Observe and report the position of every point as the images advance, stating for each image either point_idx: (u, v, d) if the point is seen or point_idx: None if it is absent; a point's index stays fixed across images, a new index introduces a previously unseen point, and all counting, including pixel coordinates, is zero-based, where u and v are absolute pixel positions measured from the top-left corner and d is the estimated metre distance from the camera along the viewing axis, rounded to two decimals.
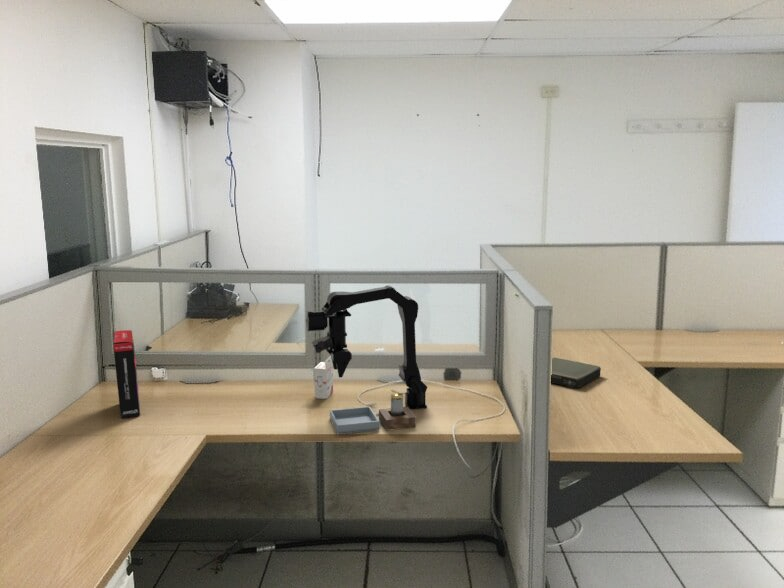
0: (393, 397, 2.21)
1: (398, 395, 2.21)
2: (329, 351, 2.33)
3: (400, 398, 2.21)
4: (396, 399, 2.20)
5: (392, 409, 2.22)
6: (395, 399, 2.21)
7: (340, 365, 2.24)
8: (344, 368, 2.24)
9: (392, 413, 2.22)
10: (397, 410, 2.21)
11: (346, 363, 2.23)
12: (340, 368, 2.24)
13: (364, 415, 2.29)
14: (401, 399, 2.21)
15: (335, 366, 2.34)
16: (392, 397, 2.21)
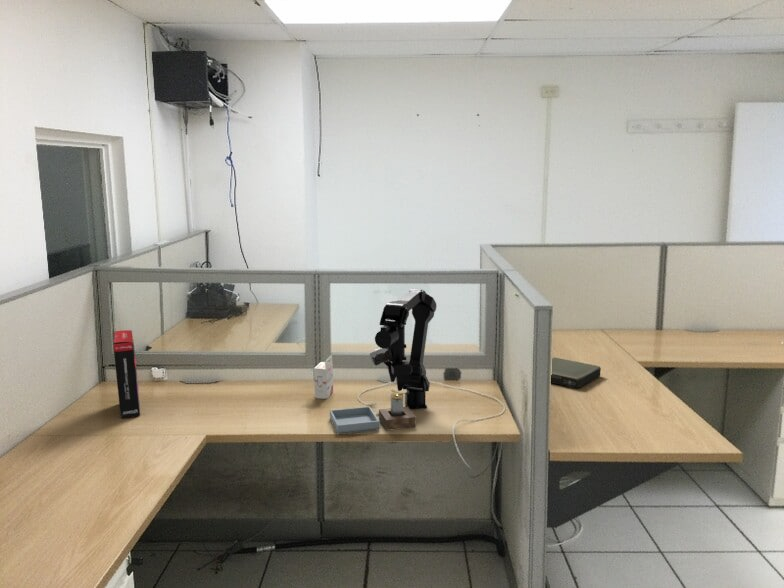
0: (393, 397, 2.21)
1: (398, 395, 2.21)
2: (386, 363, 2.25)
3: (400, 398, 2.21)
4: (396, 399, 2.20)
5: (392, 409, 2.22)
6: (395, 399, 2.21)
7: (400, 378, 2.15)
8: (404, 381, 2.16)
9: (392, 413, 2.22)
10: (397, 410, 2.21)
11: (406, 376, 2.15)
12: (400, 381, 2.16)
13: (364, 415, 2.29)
14: (401, 399, 2.21)
15: (392, 378, 2.26)
16: (392, 397, 2.21)
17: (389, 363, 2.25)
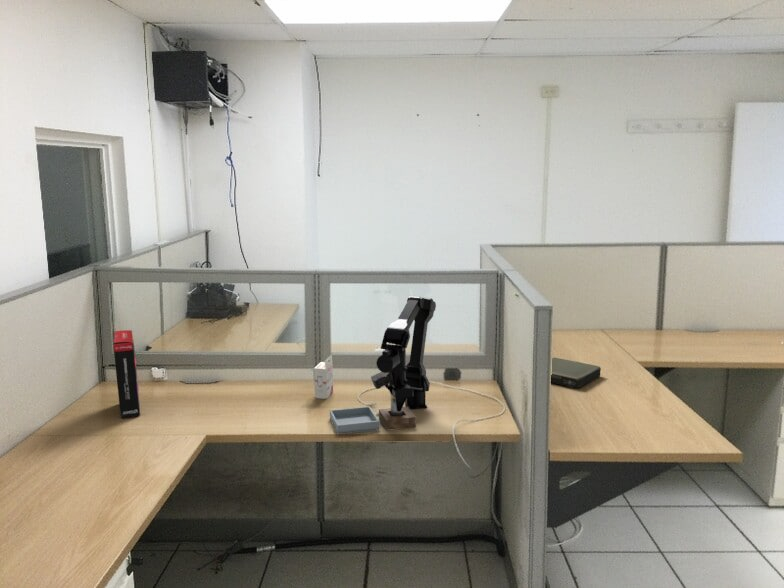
0: (393, 397, 2.21)
1: None
2: (389, 388, 2.24)
3: None
4: None
5: (392, 409, 2.22)
6: None
7: (399, 399, 2.19)
8: (403, 402, 2.20)
9: (392, 413, 2.22)
10: None
11: (405, 397, 2.19)
12: (399, 402, 2.19)
13: (364, 415, 2.29)
14: None
15: None
16: (392, 397, 2.21)
17: (392, 388, 2.24)
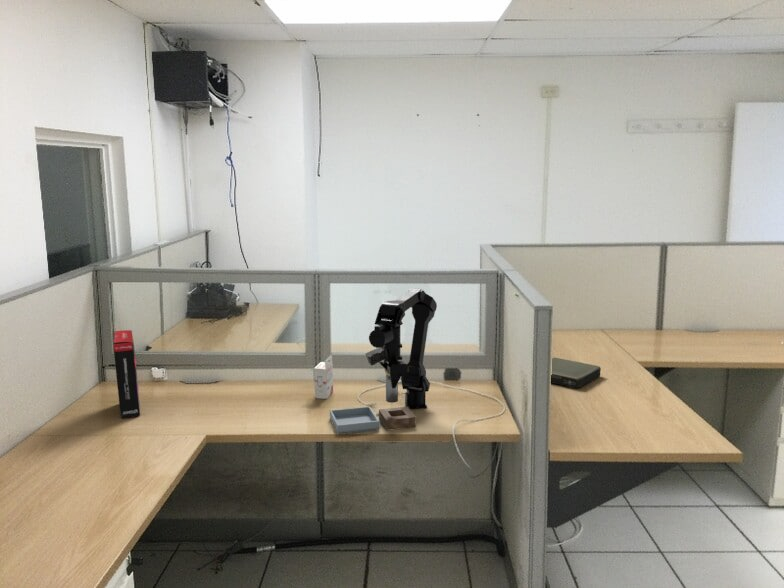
0: (388, 374, 2.19)
1: None
2: (383, 365, 2.22)
3: None
4: None
5: (387, 386, 2.20)
6: None
7: (394, 376, 2.17)
8: (398, 379, 2.18)
9: (387, 390, 2.20)
10: None
11: (400, 373, 2.17)
12: (394, 379, 2.18)
13: (364, 415, 2.29)
14: None
15: None
16: (386, 374, 2.19)
17: (386, 365, 2.22)
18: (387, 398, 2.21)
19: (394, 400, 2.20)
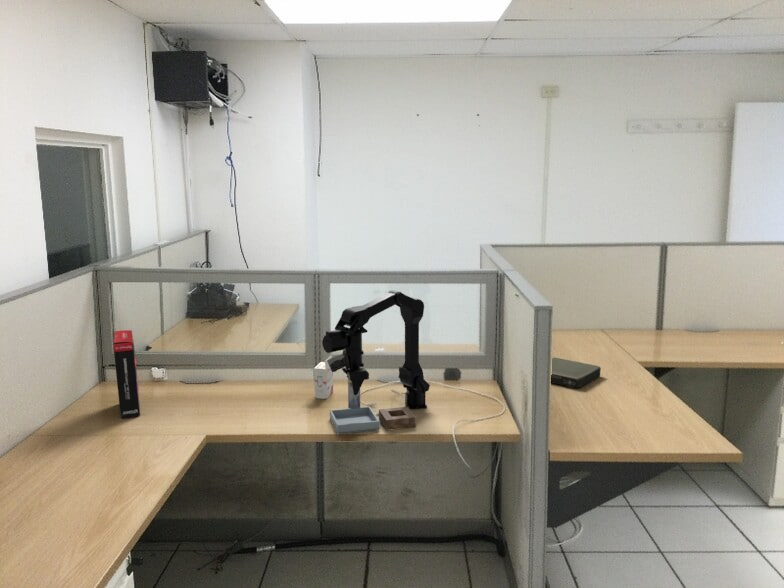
0: None
1: None
2: (346, 371, 2.22)
3: None
4: None
5: (349, 392, 2.20)
6: None
7: (355, 382, 2.17)
8: (359, 385, 2.18)
9: (349, 397, 2.20)
10: None
11: (361, 380, 2.17)
12: (355, 385, 2.17)
13: (364, 415, 2.29)
14: None
15: None
16: (348, 380, 2.19)
17: None
18: (349, 404, 2.21)
19: (356, 407, 2.20)
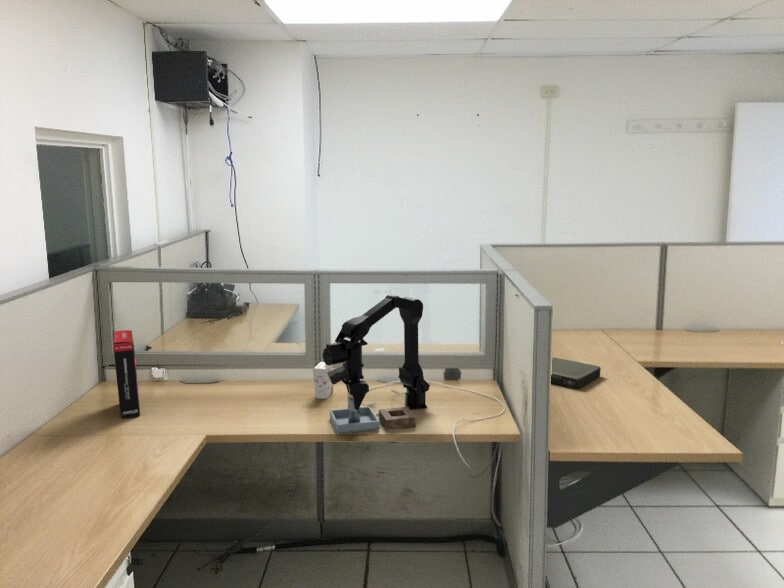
0: (349, 396, 2.20)
1: None
2: (345, 381, 2.25)
3: None
4: (352, 398, 2.20)
5: (349, 408, 2.21)
6: (351, 398, 2.20)
7: (357, 397, 2.16)
8: (361, 400, 2.16)
9: (349, 412, 2.21)
10: (353, 409, 2.20)
11: (363, 395, 2.16)
12: (357, 400, 2.16)
13: (364, 415, 2.29)
14: None
15: None
16: (348, 396, 2.21)
17: (348, 381, 2.25)
18: (349, 420, 2.22)
19: (356, 422, 2.21)
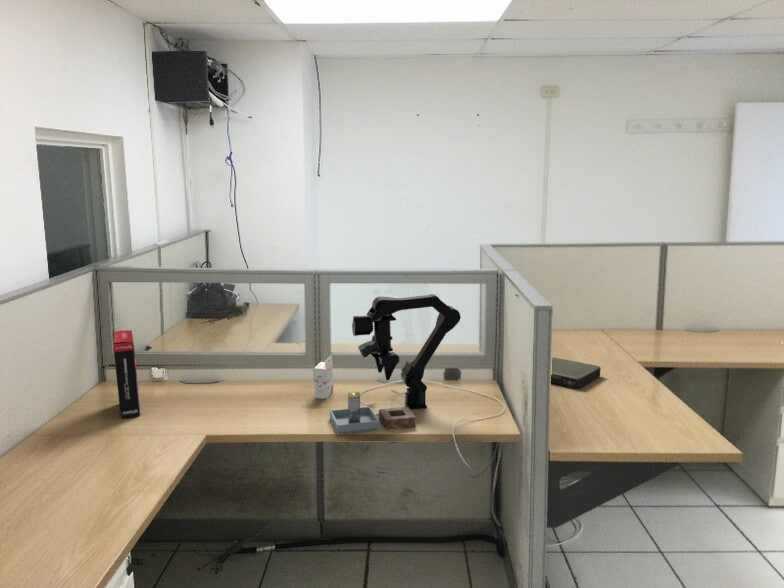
0: (350, 396, 2.20)
1: (355, 394, 2.21)
2: (373, 355, 2.38)
3: (357, 397, 2.20)
4: (353, 398, 2.20)
5: (349, 408, 2.21)
6: (352, 398, 2.20)
7: (387, 368, 2.29)
8: (391, 371, 2.30)
9: (349, 412, 2.21)
10: (354, 409, 2.20)
11: (393, 366, 2.29)
12: (387, 371, 2.29)
13: (364, 415, 2.29)
14: (358, 398, 2.20)
15: (379, 369, 2.39)
16: (348, 396, 2.21)
17: (376, 355, 2.38)
18: (349, 420, 2.22)
19: (356, 422, 2.21)
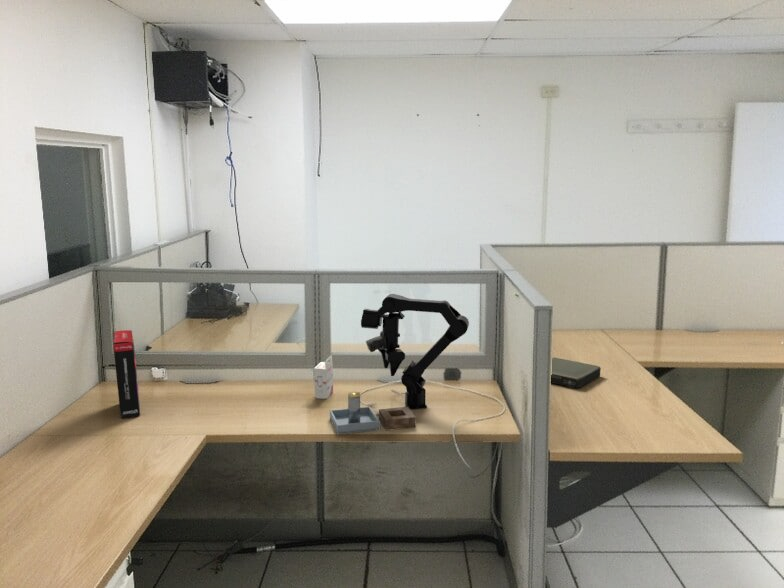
0: (350, 396, 2.20)
1: (355, 394, 2.21)
2: (380, 350, 2.43)
3: (357, 397, 2.20)
4: (353, 398, 2.20)
5: (349, 408, 2.21)
6: (352, 398, 2.20)
7: (393, 364, 2.33)
8: (396, 367, 2.34)
9: (349, 412, 2.21)
10: (354, 409, 2.20)
11: (399, 363, 2.33)
12: (393, 367, 2.34)
13: (364, 415, 2.29)
14: (358, 398, 2.20)
15: (385, 365, 2.44)
16: (348, 396, 2.21)
17: (383, 350, 2.43)
18: (349, 420, 2.22)
19: (356, 422, 2.21)
